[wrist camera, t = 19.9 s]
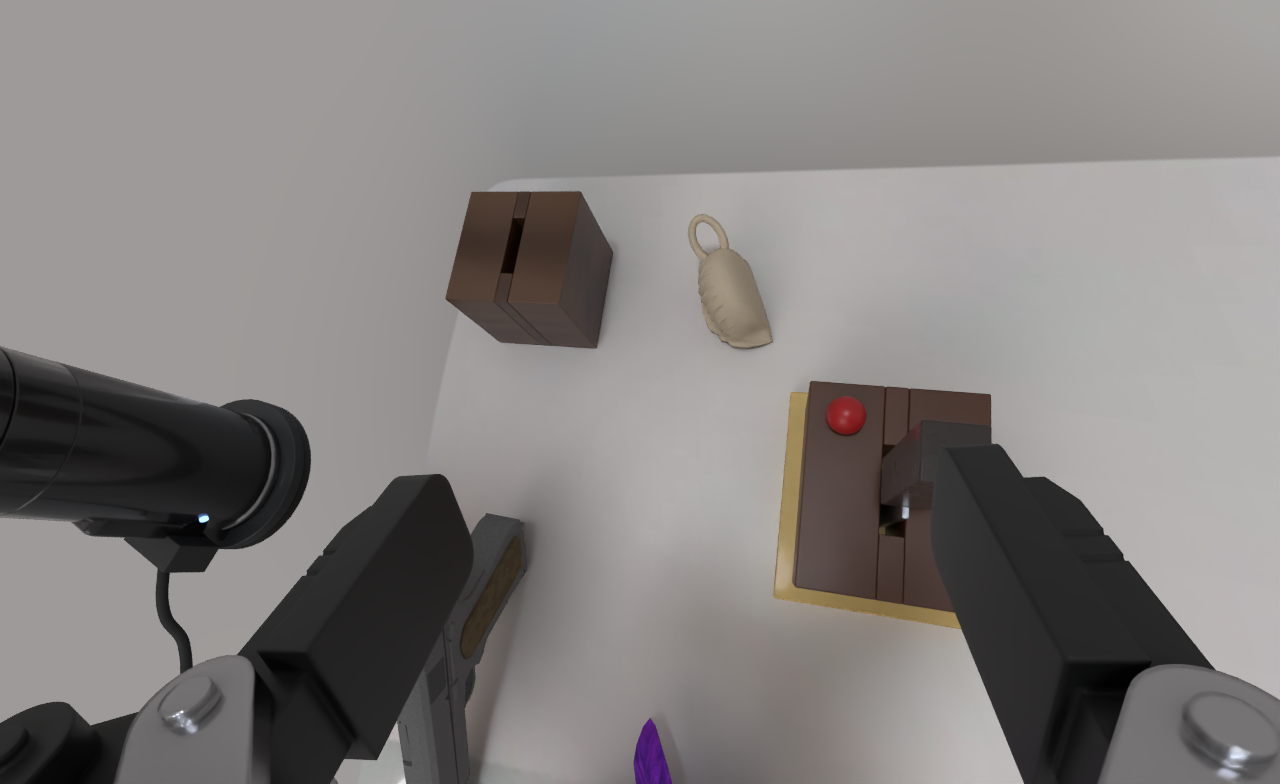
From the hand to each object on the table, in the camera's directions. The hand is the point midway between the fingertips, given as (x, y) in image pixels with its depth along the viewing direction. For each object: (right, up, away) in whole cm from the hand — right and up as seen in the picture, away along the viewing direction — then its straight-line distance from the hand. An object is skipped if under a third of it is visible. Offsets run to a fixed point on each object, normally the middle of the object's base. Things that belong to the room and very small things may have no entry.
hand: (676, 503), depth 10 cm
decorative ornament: (+6, +8, +33) cm, 34 cm away
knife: (+14, -5, +26) cm, 30 cm away
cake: (+14, -5, +27) cm, 31 cm away
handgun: (-11, -17, +29) cm, 35 cm away
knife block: (-7, +9, +36) cm, 38 cm away
